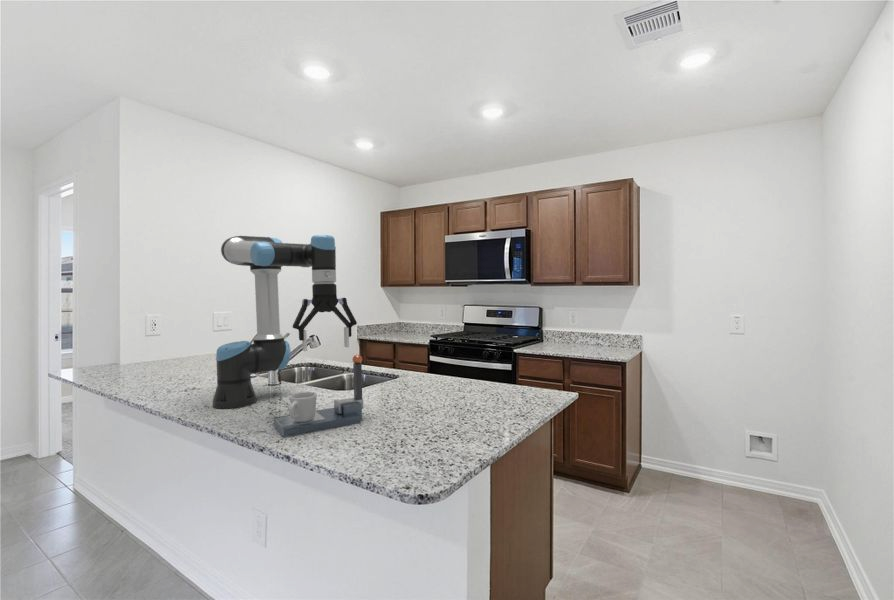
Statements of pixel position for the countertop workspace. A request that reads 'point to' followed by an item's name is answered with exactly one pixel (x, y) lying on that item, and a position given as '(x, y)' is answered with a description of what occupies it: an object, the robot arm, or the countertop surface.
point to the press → (320, 420)
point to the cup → (302, 406)
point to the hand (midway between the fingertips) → (326, 348)
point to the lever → (357, 386)
